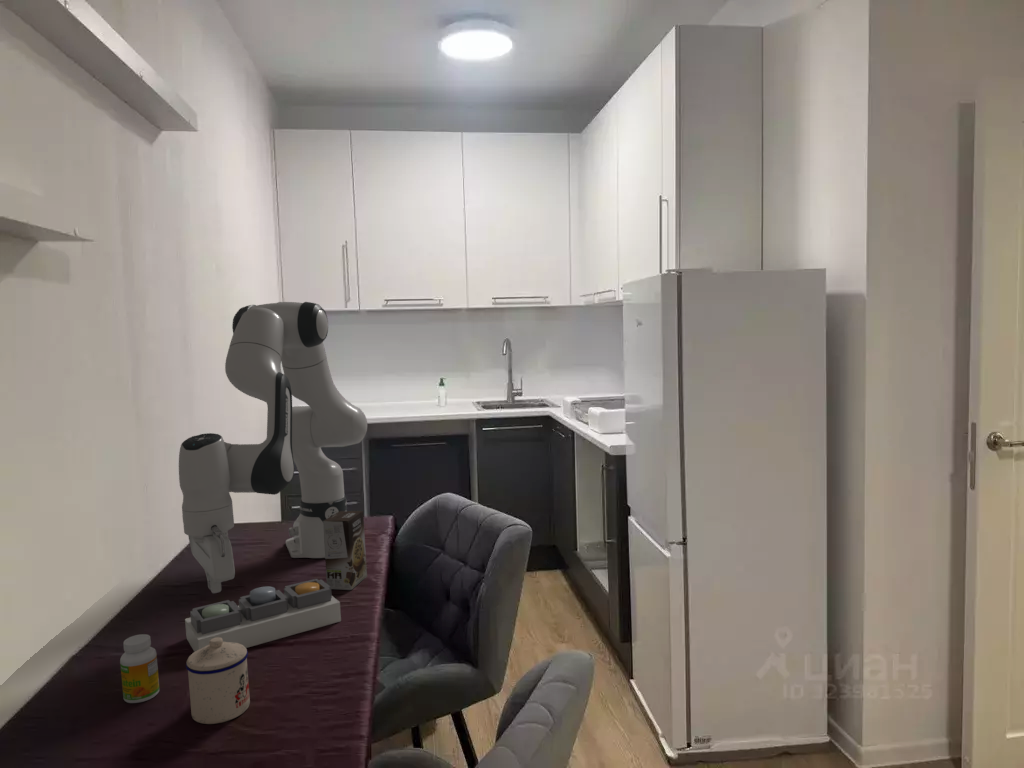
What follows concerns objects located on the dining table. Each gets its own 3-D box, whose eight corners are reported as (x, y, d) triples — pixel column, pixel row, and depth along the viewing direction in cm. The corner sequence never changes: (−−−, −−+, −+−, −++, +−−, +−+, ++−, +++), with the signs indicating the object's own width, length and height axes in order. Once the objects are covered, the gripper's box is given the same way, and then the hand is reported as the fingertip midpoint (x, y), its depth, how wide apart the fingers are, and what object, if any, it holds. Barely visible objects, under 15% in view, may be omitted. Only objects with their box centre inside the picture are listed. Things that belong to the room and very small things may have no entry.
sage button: (200, 618, 140) (199, 608, 139) (226, 612, 142) (225, 602, 142) (205, 626, 136) (204, 616, 136) (232, 619, 138) (231, 609, 138)
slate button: (247, 600, 145) (246, 590, 144) (271, 594, 147) (271, 584, 147) (254, 607, 141) (253, 597, 140) (278, 601, 143) (278, 591, 143)
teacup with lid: (250, 719, 112) (244, 646, 111) (186, 731, 109) (180, 656, 108) (254, 682, 123) (249, 616, 122) (196, 692, 121) (190, 625, 119)
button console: (186, 638, 142) (184, 606, 141) (320, 603, 157) (318, 574, 156) (199, 660, 132) (197, 627, 131) (341, 621, 147) (339, 590, 147)
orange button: (292, 595, 150) (292, 586, 150) (315, 589, 153) (314, 580, 152) (300, 602, 146) (299, 592, 146) (323, 596, 149) (322, 587, 148)
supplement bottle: (116, 703, 118) (110, 646, 117) (137, 686, 123) (132, 631, 122) (146, 704, 117) (141, 647, 116) (166, 687, 123) (161, 632, 122)
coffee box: (352, 590, 164) (348, 521, 162) (326, 589, 165) (321, 520, 164) (368, 576, 173) (364, 510, 171) (343, 575, 174) (339, 509, 173)
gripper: (240, 529, 131) (246, 603, 132) (213, 506, 147) (219, 571, 149) (203, 537, 127) (210, 612, 129) (180, 512, 144) (186, 579, 145)
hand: (215, 590), depth 139 cm, fingers closed
